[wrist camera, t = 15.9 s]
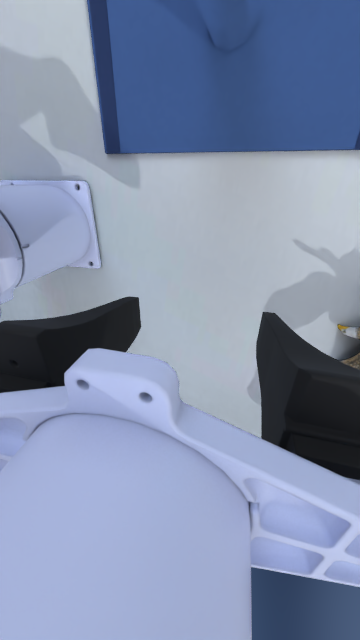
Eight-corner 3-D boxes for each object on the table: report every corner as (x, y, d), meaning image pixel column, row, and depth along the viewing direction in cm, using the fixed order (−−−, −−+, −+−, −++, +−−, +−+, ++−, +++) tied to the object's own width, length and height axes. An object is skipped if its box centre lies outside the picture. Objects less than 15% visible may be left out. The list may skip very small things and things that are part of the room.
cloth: (106, 153, 20) (104, 153, 20) (71, -153, 13) (67, -161, 13) (375, 149, 16) (378, 149, 16) (526, -294, 9) (536, -311, 9)
